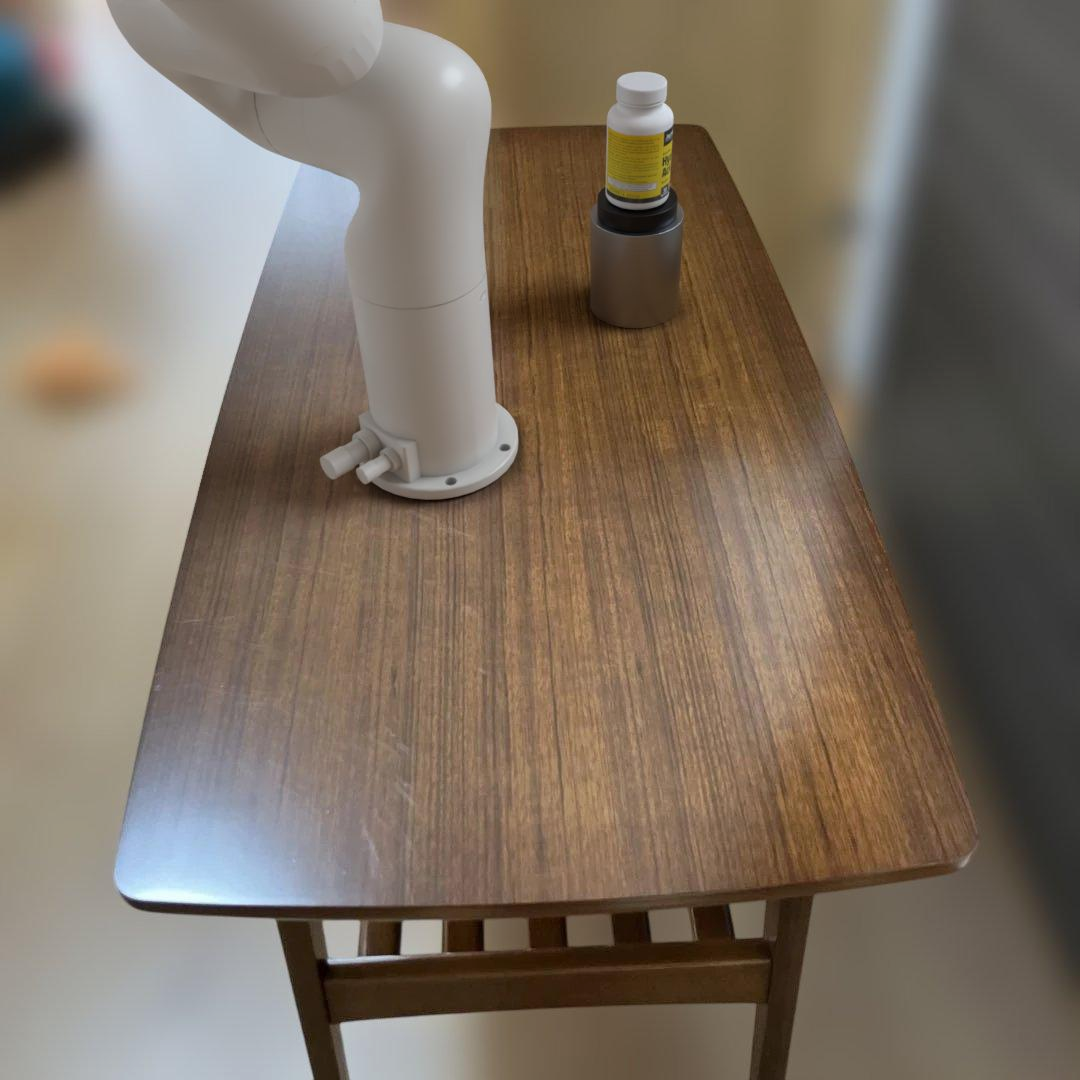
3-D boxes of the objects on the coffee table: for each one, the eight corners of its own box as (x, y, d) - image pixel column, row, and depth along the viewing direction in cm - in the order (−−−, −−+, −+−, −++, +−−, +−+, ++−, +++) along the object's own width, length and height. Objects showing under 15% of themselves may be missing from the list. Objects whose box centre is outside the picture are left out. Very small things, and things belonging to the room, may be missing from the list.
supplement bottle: (671, 211, 93) (678, 93, 86) (606, 213, 93) (607, 95, 86) (667, 181, 97) (673, 66, 90) (604, 183, 97) (605, 68, 90)
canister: (637, 339, 98) (640, 229, 91) (572, 305, 102) (570, 198, 95) (696, 303, 102) (704, 195, 95) (631, 272, 106) (634, 166, 99)
